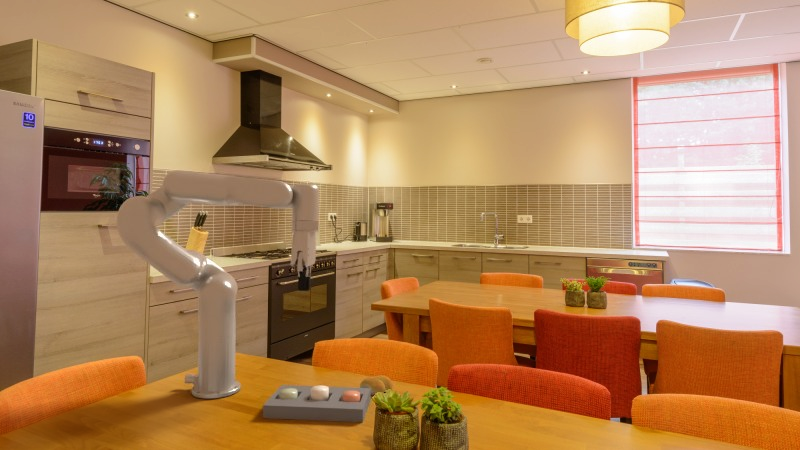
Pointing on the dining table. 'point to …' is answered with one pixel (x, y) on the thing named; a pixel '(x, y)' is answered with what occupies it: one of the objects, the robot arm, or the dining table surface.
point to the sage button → (288, 393)
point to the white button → (320, 393)
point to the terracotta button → (351, 396)
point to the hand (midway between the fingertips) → (304, 290)
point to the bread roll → (377, 384)
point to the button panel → (318, 405)
